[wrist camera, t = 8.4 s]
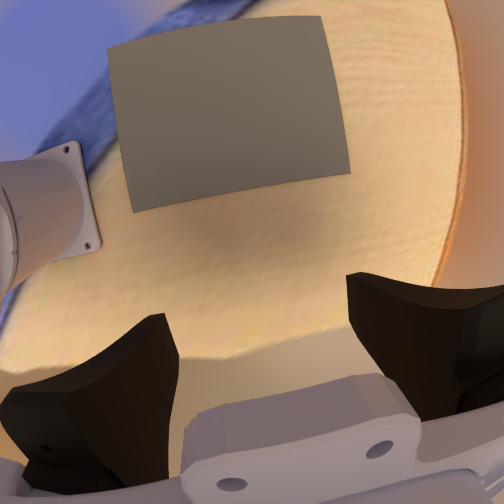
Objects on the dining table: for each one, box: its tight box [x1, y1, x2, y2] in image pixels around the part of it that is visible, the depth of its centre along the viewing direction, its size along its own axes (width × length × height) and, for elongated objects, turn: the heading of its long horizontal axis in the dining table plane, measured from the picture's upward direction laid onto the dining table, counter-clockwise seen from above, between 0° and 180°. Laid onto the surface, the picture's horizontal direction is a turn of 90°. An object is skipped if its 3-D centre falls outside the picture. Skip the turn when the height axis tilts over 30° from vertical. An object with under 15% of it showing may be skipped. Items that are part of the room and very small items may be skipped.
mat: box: [108, 16, 351, 213], centre depth 19 cm, size 15×12×1 cm
